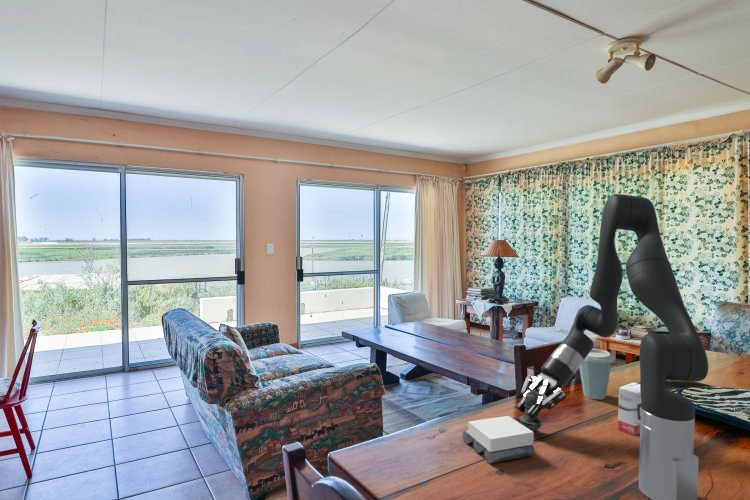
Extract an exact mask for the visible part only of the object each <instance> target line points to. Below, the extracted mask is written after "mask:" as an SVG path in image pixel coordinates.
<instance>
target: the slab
mask: <svg viewBox="0 0 750 500" xmlns="http://www.w3.org/2000/svg"><path fill="white" fill-rule="evenodd" d="M467 431H468V434H469V435H471V436H472V437H473V438H474V439H475V440H477V441H478V442H479V443H480V444H481V445H483V446H484V447H485V448H486V449H487V450H489V451H490V452H493V451H499V450H505V449H510V448H516V447H521V446H527V445H533V446H534V439H535V437H534V432H533V431H531V430H530V429H528V428H526V427H525V426H523V425H522V424H521V422H519V421H517V420H516V419H514V418H512V417H511V416H510V415H505V416H498V417H497V416H496V417H490V418H483V419H478V420H471V421H470V420H469V421H467Z"/></svg>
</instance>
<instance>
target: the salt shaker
mask: <svg viewBox="0 0 750 500" xmlns="http://www.w3.org/2000/svg"><path fill="white" fill-rule="evenodd" d="M532 391H533V390H532V389H530V392H527V393H526V403H525V404H524V406H525V411H524V414H523V415H520V416H519V420H520V424H522V425H523V426H525V427H526V428H528V429H530V430H531V431H533V432H534V438H538V437H540V436H541V435H542V432H541V431H540V430H539V429H540V428H541V427H542V423H543V420H542V418H541V417H539V416H538V415H537V416H536V417H535V418H534V419H532V418H530V417H529V416H528V415H527V412H528V411H529V410H530V408H531V407H532V406H533V404H534V403H536V401H537V399H538V397H537V395H536V394H535V393H534V392H532Z"/></svg>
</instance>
